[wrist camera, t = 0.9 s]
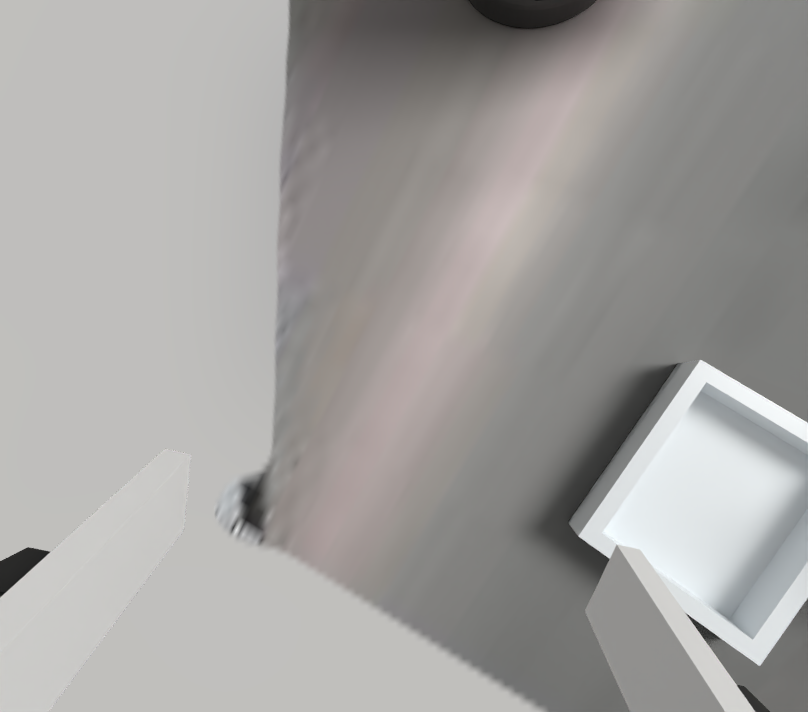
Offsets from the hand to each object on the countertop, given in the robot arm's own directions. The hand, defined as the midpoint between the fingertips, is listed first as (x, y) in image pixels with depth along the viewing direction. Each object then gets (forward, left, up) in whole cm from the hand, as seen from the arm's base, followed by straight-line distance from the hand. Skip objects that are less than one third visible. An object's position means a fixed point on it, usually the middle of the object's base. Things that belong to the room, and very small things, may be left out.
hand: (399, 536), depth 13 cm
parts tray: (-9, +19, -25) cm, 32 cm away
